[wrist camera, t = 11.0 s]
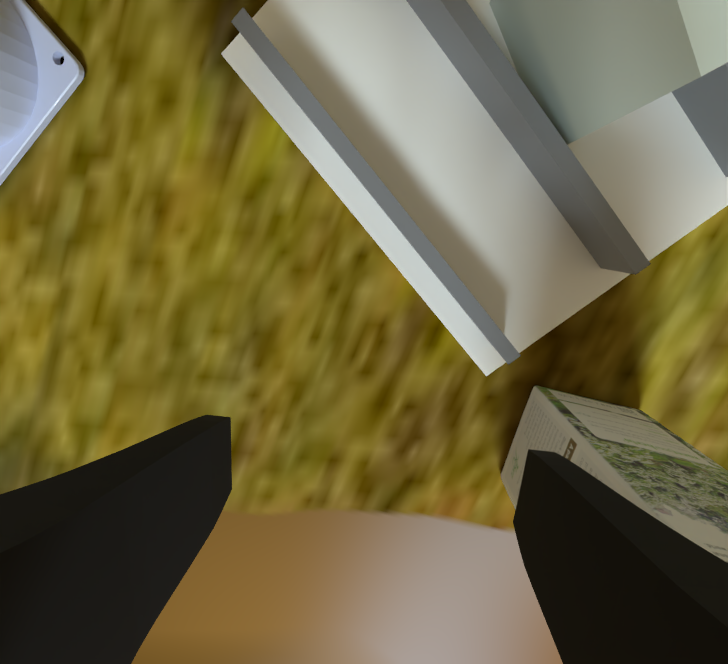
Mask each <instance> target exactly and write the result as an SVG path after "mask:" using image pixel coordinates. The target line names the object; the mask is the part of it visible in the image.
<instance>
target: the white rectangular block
mask: <svg viewBox="0 0 728 664" xmlns="http://www.w3.org/2000/svg"><path fill="white" fill-rule="evenodd" d="M489 4H490V6H491V9H492V11H493V14H494V16H495V18H496V21H497V23H498V26H499V28H500V31H501V33H502V36H503V38H504V41H505V43H506V46H507V48H508V51H509V53H510V55H511V58H512V60H513V63H514V65H515V68H516V70H517V73H518V75H519V77H520V78H521V80H522V81H523V82H524V84H525V85H526V87H527V88H528V90H529V91H530V92H531V94H532V95H533V97H534V98H535V100H536V101H537V102H538V104H539V105H540V107H541V108H542V110H543V111H544V112H545V114H546V115H547V117H548V118H549V120H550V121H551V122H552V124H553V125H554V127H555V128H556V130H557V131H558V132H559V134H560V135H561V137H562V138H563V140H564V141H565V142H566V144H567V145H568V144H570V143H572V142H574V141H576V140H578V139H580V138H581V137H583V136H585V135H587V134H589V133H591V132H593V131H595V130H597V129H599V128H601V127H603V126H605V125H607V124H609V123H611V122H613V121H615V120H617V119H619V118H621V117H623V116H625V115H627V114H629V113H631V112H633V111H635V110H637V109H639V108H641V107H643V106H644V105H646V104H648V103H650V102H652V101H654V100H656V99H658V98H660V97H662V96H664V95H666V94H668V93H670V92H672V91H674V90H676V89H678V88H680V87H682V86H684V85H686V84H688V83H690V82H692V81H694V80H696V79H698V78H700V77H702V76H703V75H705V74H707V73H709V72H711V71H713V70H714V69H716V68H718V67H720V66H722V65H724V64H725V63H727V62H728V0H490V3H489Z"/></svg>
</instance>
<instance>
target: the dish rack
mask: <svg viewBox="0 0 728 664" xmlns="http://www.w3.org/2000/svg"><path fill="white" fill-rule="evenodd" d="M489 3H490V0H268V1H267V2H266V3H265V4H264V5H263V6H262V8H261V9H260V10H259V11H258V12H257V13H256V14H255V16H254V17H253V18H251V17H250V15H249V14H248V13H247V12H246V10H245V9H244V8H242V9H241V10H240V12H239V13H238V14H237V15H236V16H235V17H234V19H233V20H232V21H231V22H232V23H233V24H234V26H235V27H236V28H237V30H238V31H239V32H240V33H239V34H238V35H237V36H236V37H235V39H234V40H233V41H232V42H231V43H230V44H229V45H228V47H227V48H226V49H225V50H224V51H223V52H222V54H221V55H222V56H223V57H224V58H225V59H226V61H227V62H228V63H229V64H230V65H231V67H232V68H233V69H234V70H235V72H236V73H237V74H238V75H239V76H240V78H241V79H242V80H243V81H244V82H245V84H246V85H247V86H248V87H249V89H250V90H251V91H252V92H253V93H254V95H255V96H256V97H257V98H258V99H259V101H260V102H261V103H262V104H263V106H264V107H265V108H266V109H267V110H268V112H269V113H270V114H271V115H272V116H273V118H274V119H275V120H276V121H277V123H278V124H279V125H280V126H281V127H282V129H283V130H284V131H285V132H286V133H287V135H288V136H289V137H290V138H291V140H292V141H293V142H294V143H295V144H296V146H297V147H298V148H299V149H300V150H301V152H302V153H303V154H304V155H305V157H306V158H307V159H308V160H309V161H310V163H311V164H312V165H313V166H314V167H315V169H316V170H317V171H318V172H319V174H320V175H321V176H322V177H323V178H324V180H325V181H326V182H327V183H328V185H329V186H330V187H331V188H332V189H333V191H334V192H335V193H336V194H337V195H338V197H339V198H340V199H341V200H342V202H343V203H344V204H345V205H346V206H347V208H348V209H349V210H350V211H351V212H352V214H353V215H354V216H355V217H356V219H357V220H358V221H359V222H360V223H361V225H362V226H363V227H364V228H365V229H366V231H367V232H368V233H369V234H370V236H371V237H372V238H373V239H374V240H375V242H376V243H377V244H378V245H379V246H380V248H381V249H382V250H383V251H384V253H385V254H386V255H387V256H388V257H389V259H390V260H391V261H392V262H393V263H394V265H395V266H396V267H397V268H398V270H399V271H400V272H401V273H402V274H403V276H404V277H405V278H406V279H407V280H408V282H409V283H410V284H411V285H412V287H413V288H414V289H415V290H416V291H417V293H418V294H419V295H420V296H421V297H422V299H423V300H424V301H425V302H426V304H427V305H428V306H429V307H430V308H431V310H432V311H433V312H434V313H435V314H436V316H437V317H438V318H439V319H440V321H441V322H442V323H443V324H444V325H445V327H446V328H447V329H448V330H449V331H450V333H451V334H452V335H453V336H454V338H455V339H456V340H457V341H458V342H459V344H460V345H461V346H462V347H463V348H464V350H465V351H466V352H467V353H468V355H469V356H470V357H471V358H472V359H473V361H474V362H475V363H476V364H477V365H478V367H479V368H480V369H481V370H482V372H483V373H484V374H485V375H486V376H488V375H489V374H490V373H492V372H493V371H495V370H496V369H497V368H499V367H500V366H502V365H503V364H504V363H506V362H507V364H510V363H511V362H513V361H514V360H516V359H517V358H518V357H520V356H521V355H520V354H519V353H520V352H521V351H523V350H524V349H526V348H527V347H528V346H530V345H531V344H533V343H534V342H535V341H537V340H538V339H540V338H541V337H542V336H544V335H545V334H547V333H548V332H550V331H551V330H552V329H554V328H555V327H557V326H558V325H559V324H561V323H562V322H564V321H565V320H566V319H568V318H569V317H571V316H572V315H573V314H575V313H576V312H578V311H579V310H581V309H582V308H583V307H585V306H586V305H588V304H589V303H590V302H592V301H593V300H595V299H596V298H597V297H599V296H600V295H602V294H603V293H605V292H606V291H607V290H609V289H610V288H612V287H613V286H614V285H616V284H617V283H619V282H620V281H621V280H623V279H624V278H626V277H627V276H628V275H630V274H635V275H636V274H637V273H639V272H640V271H641V270H643V269H644V268H646V267H647V266H649V265H650V262H649V261H650V260H651V259H652V258H654V257H655V256H657V255H658V254H659V253H661V252H662V251H664V250H665V249H667V248H668V247H669V246H671V245H672V244H674V243H675V242H676V241H678V240H679V239H681V238H682V237H683V236H685V235H686V234H688V233H689V232H690V231H692V230H693V229H695V228H696V227H698V226H699V225H700V224H702V223H703V222H705V221H706V220H707V219H709V218H710V217H712V216H713V215H714V214H716V213H717V212H719V211H720V210H721V209H723V208H724V207H726V206H727V205H728V62H727V63H725V64H724V65H722V66H720V67H718V68H716V69H714V70H713V71H711V72H709V73H707V74H705V75H703V76H702V77H700V78H698V79H696V80H694V81H692V82H690V83H688V84H686V85H684V86H682V87H680V88H678V89H676V90H674V91H672V92H670V93H668V94H666V95H664V96H662V97H660V98H658V99H656V100H654V101H652V102H650V103H648V104H646V105H644V106H643V107H641V108H639V109H637V110H635V111H633V112H631V113H629V114H627V115H625V116H623V117H621V118H619V119H617V120H615V121H613V122H611V123H609V124H607V125H605V126H603V127H601V128H599V129H597V130H595V131H593V132H591V133H589V134H587V135H585V136H583V137H581V138H580V139H578V140H576V141H574V142H572V143H570V144H568V145H567V144H566V142H565V141H564V140H563V138H562V137H561V135H560V134H559V132H558V131H557V130H556V128H555V127H554V125H553V124H552V122H551V121H550V120H549V118H548V117H547V115H546V114H545V112H544V111H543V110H542V108H541V107H540V105H539V104H538V102H537V101H536V100H535V98H534V97H533V95H532V94H531V92H530V91H529V90H528V88H527V87H526V85H525V84H524V82H523V81H522V80H521V78H520V77H519V75H518V73H517V70H516V68H515V65H514V63H513V60H512V58H511V55H510V53H509V51H508V48H507V46H506V43H505V41H504V38H503V36H502V33H501V31H500V28H499V26H498V23H497V21H496V18H495V16H494V14H493V11H492V9H491V6H490V4H489Z"/></svg>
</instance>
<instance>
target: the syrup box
mask: <svg viewBox="0 0 728 664" xmlns="http://www.w3.org/2000/svg"><path fill="white" fill-rule="evenodd" d="M528 449H531V450H541V451H550V452H556V453H558V454H559V455H561V456H563V457H565V458H566V459H568V460H570V461H571V462H573V463H574V464H576V465H577V466H579V467H580V468H582V469H583V470H585V471H586V472H588V473H589V474H591V475H592V476H594V477H595V478H597V479H598V480H600V481H601V482H602V483H604V484H605V485H607V486H608V487H610V488H611V489H613V490H614V491H616V492H617V493H619V494H620V495H621V496H623V497H624V498H626V499H627V500H629V501H630V502H632V503H633V504H635V505H636V506H638V507H639V508H641V509H642V510H644V511H645V512H647V513H648V514H650V515H651V516H653V517H654V518H656V519H658V520H659V521H661V522H662V523H664V524H665V525H667V526H668V527H670V528H672V529H673V530H675V531H676V532H678V533H680V534H681V535H683V536H684V537H686V538H688V539H689V540H691V541H692V542H694V543H696V544H697V545H699V546H700V547H702V548H704V549H705V550H707V551H709V552H710V553H712V554H714V555H715V556H717V557H719V558H720V559H722V560H724V561H725V562H727V563H728V471H727V470H725V469H724V468H723V467H721V466H720V465H718V464H717V463H715V462H714V461H713V460H711V459H710V458H708V457H707V456H705V455H704V454H703V453H701V452H700V451H698V450H697V449H695V448H694V447H693V446H691V445H690V444H689V443H687V442H685V441H684V440H683V439H681V438H680V437H678V436H677V435H675V434H674V433H672V432H671V431H670V430H668V429H667V428H665V427H664V426H663V425H661V424H660V423H658V422H657V421H656V420H654V419H653V418H651V417H650V416H648V415H647V414H646V413H644V412H643V411H641V410H638V409H634V408H629V407H626V406H621V405H617V404H612V403H608V402H603V401H599V400H595V399H591V398H587V397H582V396H578V395H574V394H570V393H566V392H562V391H558V390H553V389H550V388H545V387H541V386H534V387H533V389H532V392H531V394H530V397H529V399H528V402H527V404H526V407H525V409H524V412H523V415H522V417H521V420H520V423H519V426H518V428H517V431H516V434H515V437H514V439H513V442H512V445H511V448H510V450H509V453H508V456H507V459H506V461H505V464H504V467H503V470H502V473H501V479H502V482H503V484H504V486H505V488H506V490H507V492H508V495H509V497H510V499H511V501H512V503H513V505H514V507H515V509H516V506H517V501H518V496H519V491H520V486H521V482H522V477H523V472H524V467H525V462H526V458H527V453H528Z"/></svg>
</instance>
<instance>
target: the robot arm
mask: <svg viewBox="0 0 728 664" xmlns="http://www.w3.org/2000/svg"><path fill="white" fill-rule="evenodd" d="M62 56H64V62H63V64H62V65H61V63H60V59H61V57H62ZM83 78H84V69H83V66H82V65H81V63H80V62H79V61H78V60H77V58H76V57H75V56H74V55H73V54H72V53H71V52H70V51H69V49H68V48H67V47H66V46H65V45H64V44H63V43H62V42H61V40H60V39H59V38H58V37H57V36H56V35H55V34H54V33H53V31H52V30H51V29H50V28H49V27H48V26H47V25H46V24H45V22H44V21H43V20H42V19H41V18H40V17H39V16H38V15H37V13H36V12H35V11H34V10H33V9H32V8H31V7H30V6H29V4H28V3H27V2H26V1H25V0H0V185H1V184H2V183H3V181H4V180H5V179H6V178H7V176H8V175H9V174H10V173H11V171H12V170H13V169H14V167H15V166H16V165H17V164H18V162H19V161H20V160H21V158H22V157H23V156H24V155H25V153H26V152H27V151H28V149H29V148H30V147H31V146H32V144H33V143H34V142H35V141H36V139H37V138H38V137H39V135H40V134H41V133H42V132H43V130H44V129H45V128H46V126H47V125H48V124H49V123H50V121H51V120H52V119H53V117H54V116H55V115H56V114H57V112H58V111H59V110H60V109H61V107H62V106H63V105H64V103H65V102H66V101H67V100H68V98H69V97H70V96H71V94H72V93H73V92H74V91H75V89H76V88H77V87H78V85H79V84H80V83H81V82H82V80H83ZM231 490H232V474H231V420H230V417H222V416H213V415H205V416H201V417H198V418H195V419H193V420H190V421H188V422H185V423H183V424H181V425H178V426H176V427H174V428H171V429H169V430H167V431H164V432H162V433H160V434H158V435H155V436H153V437H151V438H148V439H146V440H144V441H142V442H139V443H137V444H135V445H132V446H130V447H128V448H126V449H123V450H121V451H118V452H116V453H113V454H111V455H108V456H106V457H103V458H101V459H98V460H96V461H93V462H91V463H88V464H86V465H83V466H81V467H78V468H76V469H73V470H71V471H68V472H65V473H63V474H60V475H57V476H54V477H52V478H49V479H46V480H43V481H40V482H37V483H34V484H31V485H28V486H25V487H22V488H19V489H16V490H13V491H10V492H7V493H4V494H1V495H0V664H131V663H132V661H133V659H134V657H135V655H136V653H137V651H138V649H139V648H140V646H141V644H142V643H143V641H144V639H145V638H146V636H147V634H148V632H149V631H150V629H151V627H152V626H153V624H154V622H155V621H156V619H157V618H158V616H159V614H160V613H161V611H162V610H163V608H164V606H165V605H166V603H167V602H168V600H169V599H170V597H171V595H172V594H173V592H174V591H175V589H176V587H177V586H178V584H179V583H180V581H181V580H182V578H183V576H184V575H185V573H186V572H187V570H188V569H189V567H190V565H191V564H192V562H193V561H194V559H195V557H196V556H197V554H198V552H199V551H200V549H201V548H202V546H203V545H204V543H205V541H206V540H207V538H208V536H209V535H210V533H211V531H212V530H213V528H214V526H215V524H216V522H217V520H218V518H219V516H220V514H221V512H222V510H223V508H224V505H225V503H226V501H227V499H228V496H229V494H230V492H231ZM513 524H514V528H515V532H516V536H517V540H518V544H519V548H520V552H521V555H522V559H523V562H524V566H525V569H526V571H527V574H528V577H529V579H530V582H531V584H532V587H533V589H534V592H535V594H536V597H537V600H538V602H539V604H540V607H541V610H542V612H543V615H544V617H545V620H546V622H547V625H548V627H549V629H550V632H551V635H552V637H553V640H554V642H555V644H556V647H557V649H558V652H559V654H560V657H561V659H562V662H563V664H728V563H727V562H725V561H724V560H722V559H720V558H719V557H717V556H715V555H714V554H712V553H710V552H709V551H707V550H705V549H704V548H702V547H700V546H699V545H697V544H696V543H694V542H692V541H691V540H689V539H688V538H686V537H684V536H683V535H681V534H680V533H678V532H676V531H675V530H673V529H672V528H670V527H668V526H667V525H665V524H664V523H662V522H661V521H659V520H658V519H656V518H654V517H653V516H651V515H650V514H648V513H647V512H645V511H644V510H642V509H641V508H639V507H638V506H636V505H635V504H633V503H632V502H630V501H629V500H627V499H626V498H624V497H623V496H621V495H620V494H619V493H617V492H616V491H614V490H613V489H611V488H610V487H608V486H607V485H605V484H604V483H602V482H601V481H600V480H598V479H597V478H595V477H594V476H592V475H591V474H589V473H588V472H586V471H585V470H583V469H582V468H580V467H579V466H577V465H576V464H574V463H573V462H571V461H570V460H568V459H566V458H565V457H563V456H561V455H559V454H558V453H556V452H550V451H541V450H531V449H528V453H527V458H526V462H525V467H524V472H523V477H522V482H521V486H520V491H519V496H518V501H517V506H516V511H515V515H514V520H513Z"/></svg>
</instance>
